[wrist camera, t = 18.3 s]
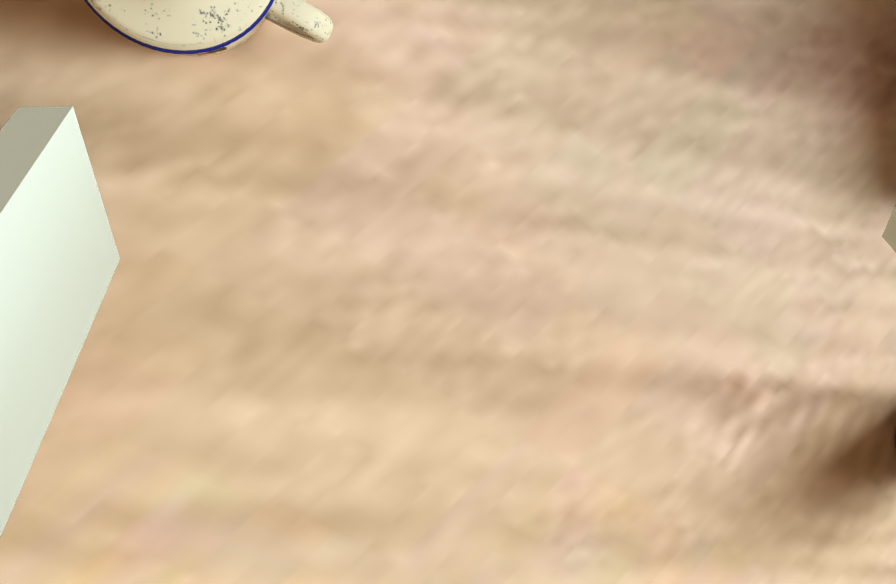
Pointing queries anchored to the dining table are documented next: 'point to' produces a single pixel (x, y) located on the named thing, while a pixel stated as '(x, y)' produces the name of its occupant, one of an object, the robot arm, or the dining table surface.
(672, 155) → the dining table surface
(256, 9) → the teacup with lid
